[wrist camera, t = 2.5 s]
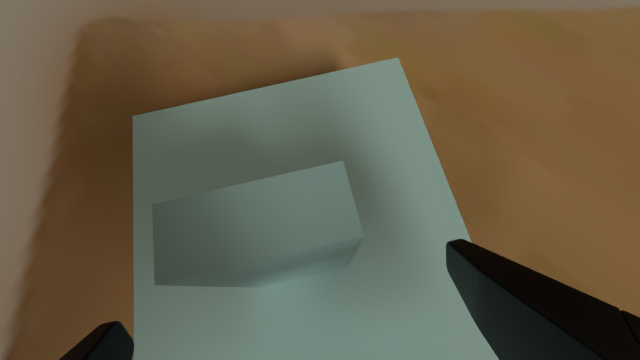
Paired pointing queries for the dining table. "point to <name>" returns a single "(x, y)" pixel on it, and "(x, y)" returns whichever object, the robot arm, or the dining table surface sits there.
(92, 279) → the dining table surface
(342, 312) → the lid
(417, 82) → the dining table surface
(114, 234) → the dining table surface
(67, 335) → the dining table surface
